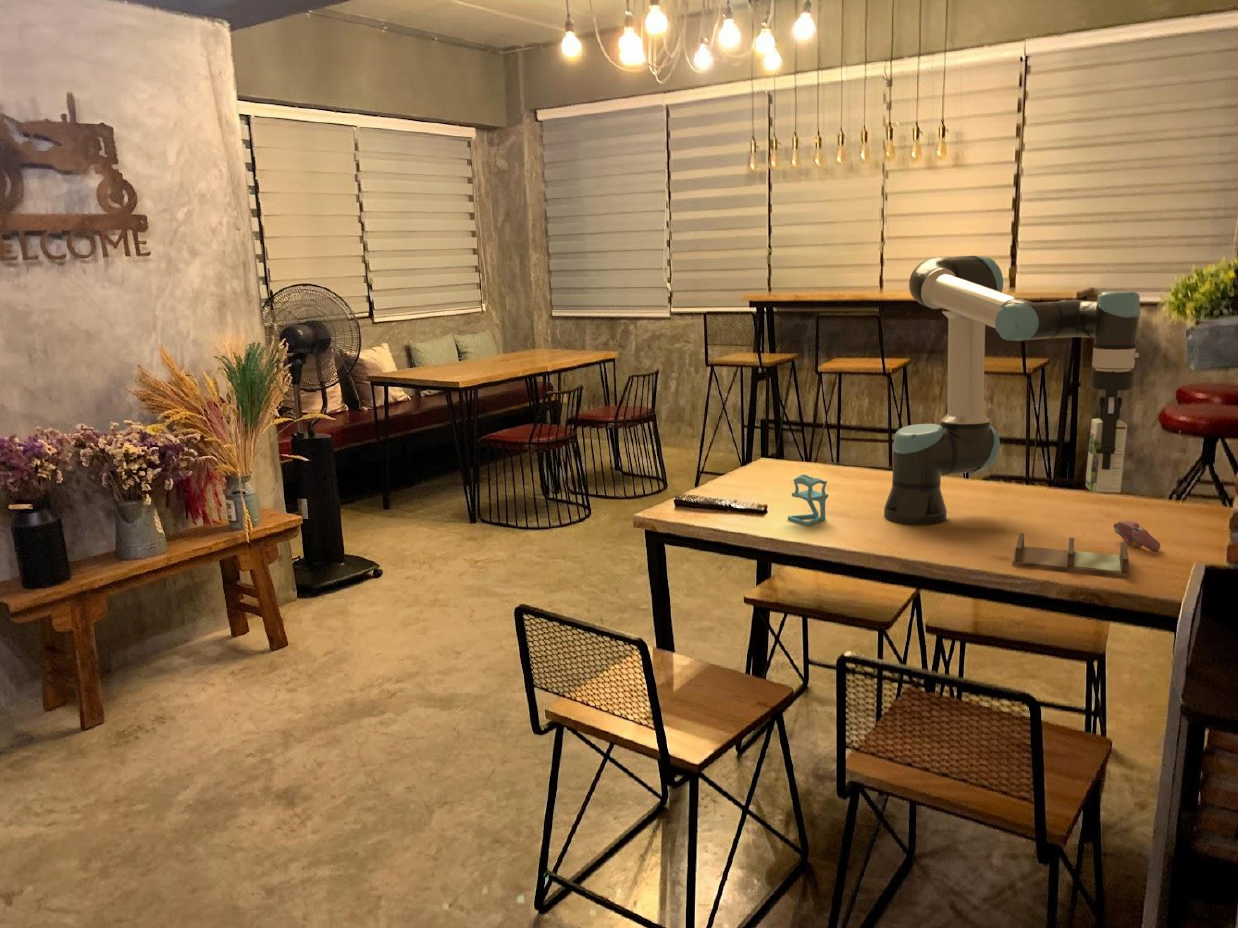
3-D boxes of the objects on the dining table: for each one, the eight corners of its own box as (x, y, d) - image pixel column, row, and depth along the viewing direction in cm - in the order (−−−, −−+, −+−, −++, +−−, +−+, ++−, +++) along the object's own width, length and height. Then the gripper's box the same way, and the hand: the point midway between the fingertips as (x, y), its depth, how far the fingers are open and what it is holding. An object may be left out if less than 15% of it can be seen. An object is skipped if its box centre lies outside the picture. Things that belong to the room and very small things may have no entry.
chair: (832, 521, 232) (833, 475, 229) (807, 526, 228) (808, 479, 225) (811, 514, 238) (812, 470, 236) (787, 519, 234) (787, 474, 232)
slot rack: (1012, 565, 195) (1013, 547, 194) (1016, 549, 205) (1017, 532, 204) (1129, 578, 185) (1131, 559, 184) (1127, 560, 196) (1129, 542, 195)
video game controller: (1117, 546, 210) (1106, 520, 209) (1134, 536, 210) (1124, 511, 209) (1145, 559, 201) (1134, 533, 199) (1164, 549, 201) (1153, 522, 199)
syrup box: (1084, 485, 193) (1089, 417, 190) (1115, 486, 191) (1121, 418, 188) (1090, 492, 187) (1095, 422, 184) (1122, 493, 186) (1128, 423, 183)
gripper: (1136, 375, 174) (1126, 492, 179) (1132, 364, 191) (1123, 472, 196) (1092, 374, 177) (1083, 489, 182) (1092, 363, 194) (1083, 469, 199)
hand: (1104, 480), depth 189 cm, fingers closed on syrup box, 6 cm apart
